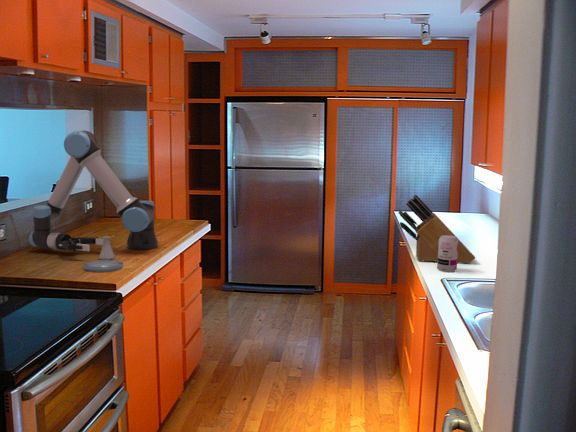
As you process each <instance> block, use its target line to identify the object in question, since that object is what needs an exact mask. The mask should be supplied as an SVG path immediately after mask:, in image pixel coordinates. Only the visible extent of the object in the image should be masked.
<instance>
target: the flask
mask: <svg viewBox="0 0 576 432" xmlns="http://www.w3.org/2000/svg"><path fill="white" fill-rule="evenodd" d="M110 238H111V236H109V235H108V236H107V235H106V236H102V239H103V245H102V247H101V251H100V254H99V257H98V260H114V259H116V256H115V252H114V251H113V248H112V246H111V243H110V242H111V240H110Z"/></svg>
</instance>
